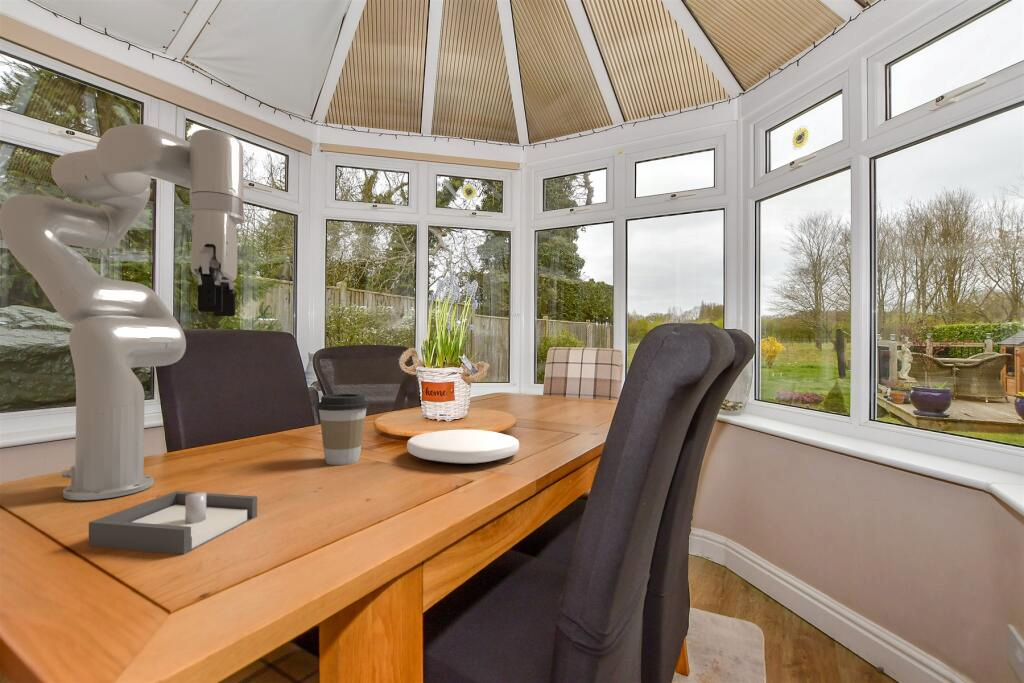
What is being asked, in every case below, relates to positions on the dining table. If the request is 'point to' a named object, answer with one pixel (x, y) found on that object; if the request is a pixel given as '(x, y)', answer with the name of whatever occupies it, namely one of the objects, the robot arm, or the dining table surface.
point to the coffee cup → (342, 427)
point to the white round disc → (463, 446)
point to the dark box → (159, 537)
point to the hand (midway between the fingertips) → (217, 314)
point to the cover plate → (201, 528)
